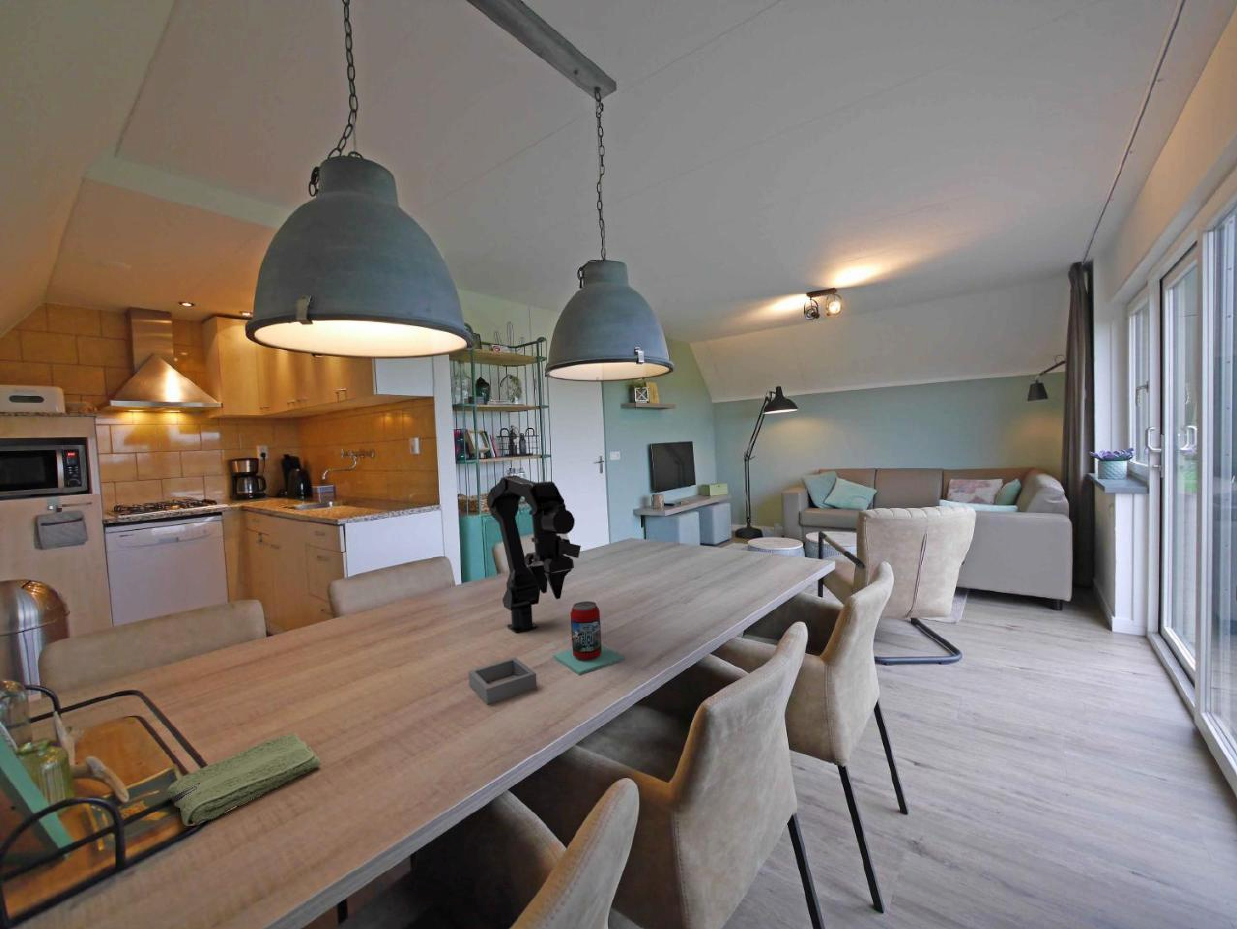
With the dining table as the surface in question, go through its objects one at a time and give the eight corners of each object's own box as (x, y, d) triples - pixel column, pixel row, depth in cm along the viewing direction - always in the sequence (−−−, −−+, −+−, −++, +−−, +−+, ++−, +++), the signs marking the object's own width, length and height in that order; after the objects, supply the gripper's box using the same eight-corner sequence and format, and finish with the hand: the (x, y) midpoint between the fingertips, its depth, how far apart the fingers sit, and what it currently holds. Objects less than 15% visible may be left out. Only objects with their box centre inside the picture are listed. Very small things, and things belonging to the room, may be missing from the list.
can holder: (469, 685, 110) (468, 671, 110) (515, 670, 116) (515, 657, 116) (487, 704, 101) (486, 689, 101) (536, 687, 107) (535, 673, 107)
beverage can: (573, 663, 117) (570, 610, 116) (571, 651, 124) (569, 602, 123) (603, 660, 118) (600, 607, 117) (600, 648, 125) (597, 599, 124)
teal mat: (553, 657, 122) (553, 655, 122) (596, 644, 129) (596, 641, 129) (579, 674, 112) (578, 672, 112) (624, 659, 119) (624, 656, 119)
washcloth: (326, 769, 84) (324, 749, 84) (187, 837, 70) (185, 814, 70) (294, 742, 92) (292, 725, 92) (163, 799, 78) (162, 779, 78)
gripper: (590, 530, 124) (597, 595, 124) (561, 526, 141) (566, 584, 140) (546, 536, 119) (553, 605, 119) (521, 532, 135) (526, 592, 135)
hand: (551, 595), depth 128 cm, fingers open, 9 cm apart
